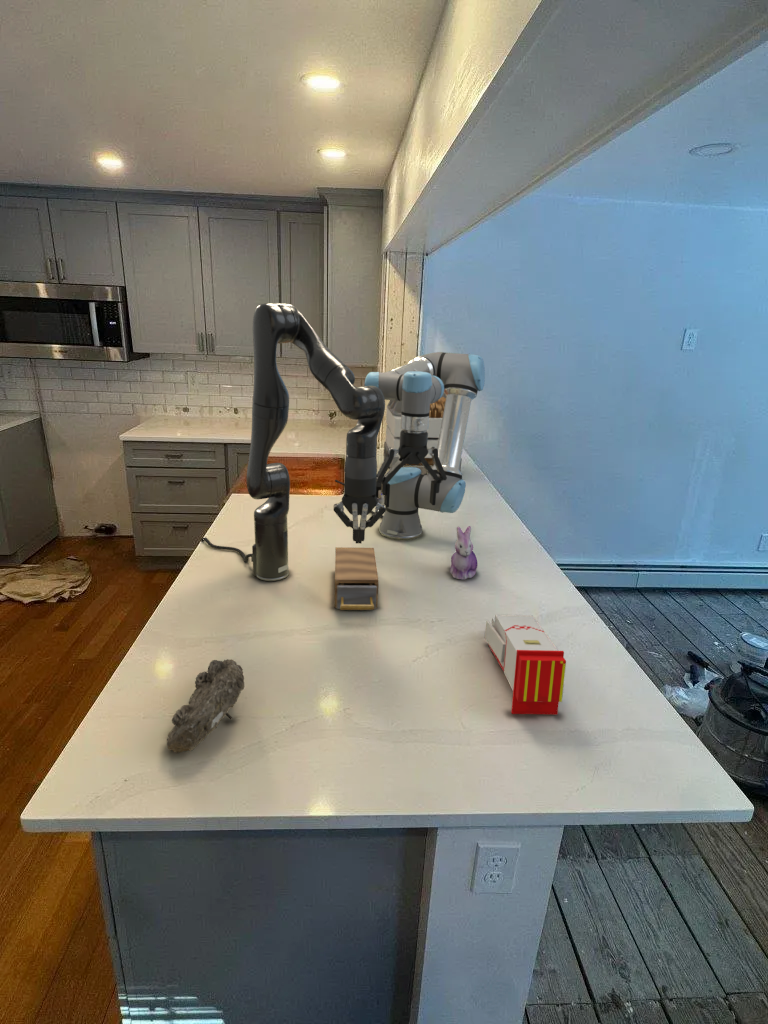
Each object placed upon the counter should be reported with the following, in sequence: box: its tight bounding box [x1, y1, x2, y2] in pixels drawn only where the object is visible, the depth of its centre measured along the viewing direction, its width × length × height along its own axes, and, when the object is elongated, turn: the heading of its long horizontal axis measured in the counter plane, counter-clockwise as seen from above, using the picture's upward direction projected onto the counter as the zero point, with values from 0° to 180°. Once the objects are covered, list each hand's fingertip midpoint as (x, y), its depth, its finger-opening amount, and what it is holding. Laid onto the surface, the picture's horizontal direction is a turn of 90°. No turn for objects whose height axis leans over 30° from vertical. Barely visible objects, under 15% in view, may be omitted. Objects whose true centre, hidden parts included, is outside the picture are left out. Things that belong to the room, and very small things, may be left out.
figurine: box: [449, 525, 479, 580], centre depth 169 cm, size 9×10×15 cm
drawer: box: [336, 583, 377, 611], centre depth 153 cm, size 25×10×6 cm, turn 4°
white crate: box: [383, 393, 463, 473], centre depth 268 cm, size 34×33×41 cm
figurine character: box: [376, 481, 383, 500], centre depth 234 cm, size 7×8×15 cm
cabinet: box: [334, 546, 379, 609], centre depth 158 cm, size 21×11×8 cm, turn 4°
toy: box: [484, 614, 567, 716], centre depth 124 cm, size 12×13×30 cm
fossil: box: [166, 658, 245, 754], centre depth 106 cm, size 22×10×15 cm
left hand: (358, 542), depth 138 cm, fingers closed
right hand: (409, 504), depth 160 cm, fingers open, 13 cm apart
